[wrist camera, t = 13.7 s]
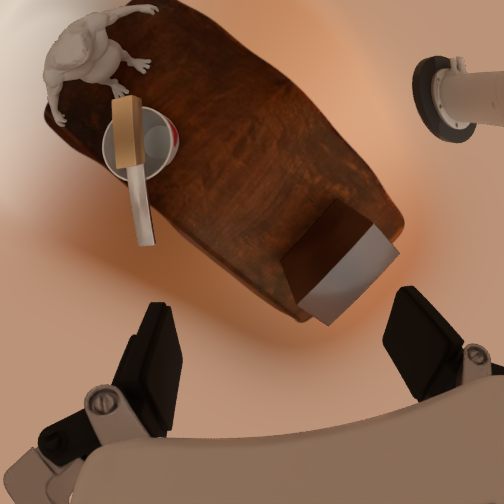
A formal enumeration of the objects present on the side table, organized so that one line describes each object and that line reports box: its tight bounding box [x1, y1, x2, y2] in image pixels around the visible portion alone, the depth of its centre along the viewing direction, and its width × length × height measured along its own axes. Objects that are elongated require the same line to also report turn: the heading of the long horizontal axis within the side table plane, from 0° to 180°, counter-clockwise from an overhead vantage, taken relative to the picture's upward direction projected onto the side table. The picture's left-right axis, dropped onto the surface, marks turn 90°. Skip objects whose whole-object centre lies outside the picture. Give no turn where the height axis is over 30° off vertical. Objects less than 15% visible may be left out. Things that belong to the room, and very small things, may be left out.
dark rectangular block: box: [280, 199, 400, 326], centre depth 36 cm, size 13×6×12 cm, turn 140°
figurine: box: [43, 4, 159, 127], centre depth 21 cm, size 18×7×18 cm, turn 137°
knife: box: [112, 95, 156, 246], centre depth 24 cm, size 16×2×3 cm, turn 2°
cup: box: [102, 107, 179, 181], centre depth 29 cm, size 8×8×10 cm
